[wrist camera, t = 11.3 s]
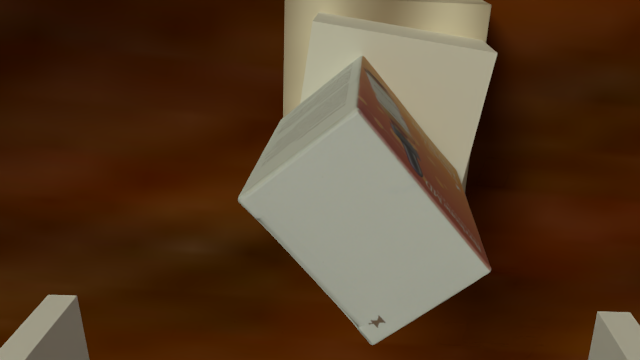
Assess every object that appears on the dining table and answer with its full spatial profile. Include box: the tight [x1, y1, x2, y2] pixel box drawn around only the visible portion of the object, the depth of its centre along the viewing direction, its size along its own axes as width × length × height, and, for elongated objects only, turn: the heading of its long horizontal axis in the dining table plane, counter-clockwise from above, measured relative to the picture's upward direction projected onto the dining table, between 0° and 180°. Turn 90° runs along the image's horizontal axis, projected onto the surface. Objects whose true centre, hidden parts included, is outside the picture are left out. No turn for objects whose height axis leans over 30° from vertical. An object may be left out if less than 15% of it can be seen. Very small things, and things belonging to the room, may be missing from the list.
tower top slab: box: [300, 12, 497, 184], centre depth 33 cm, size 9×11×4 cm
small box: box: [238, 56, 491, 345], centre depth 26 cm, size 8×6×10 cm
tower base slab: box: [283, 0, 491, 193], centre depth 36 cm, size 11×13×4 cm
